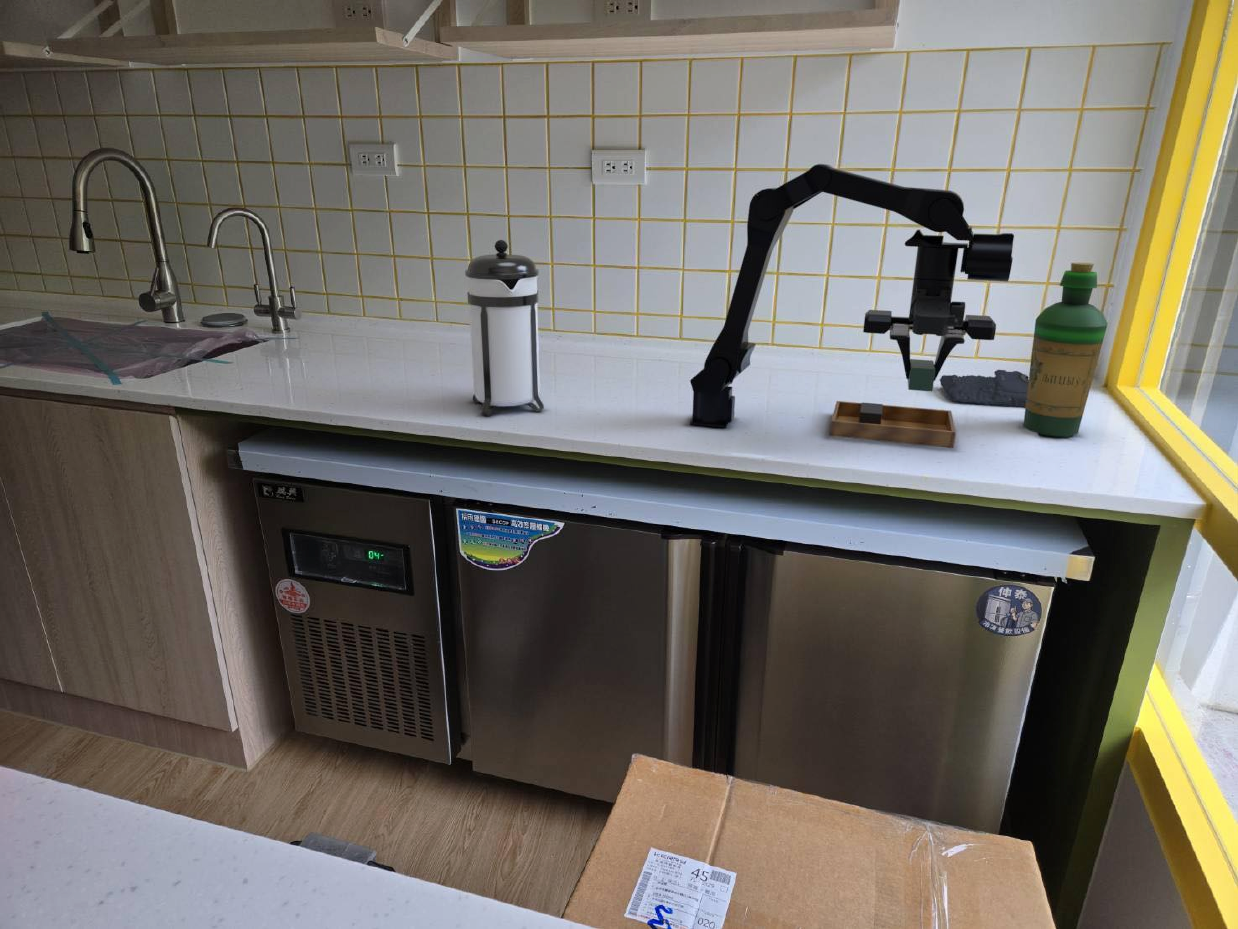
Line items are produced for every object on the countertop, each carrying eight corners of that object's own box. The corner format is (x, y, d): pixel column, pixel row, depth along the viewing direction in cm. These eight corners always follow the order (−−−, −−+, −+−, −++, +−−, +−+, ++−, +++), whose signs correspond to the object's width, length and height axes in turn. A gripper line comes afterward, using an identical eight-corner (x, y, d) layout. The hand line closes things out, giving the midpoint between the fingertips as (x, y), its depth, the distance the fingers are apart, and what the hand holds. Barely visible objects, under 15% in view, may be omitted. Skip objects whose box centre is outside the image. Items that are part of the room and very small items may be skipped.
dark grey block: (857, 432, 137) (859, 412, 136) (859, 421, 143) (861, 402, 142) (879, 434, 136) (882, 414, 135) (880, 423, 142) (882, 404, 141)
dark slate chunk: (933, 384, 170) (936, 361, 169) (1046, 389, 167) (1050, 366, 165) (947, 403, 156) (951, 379, 155) (1071, 410, 153) (1076, 385, 151)
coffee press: (566, 401, 156) (564, 238, 145) (515, 422, 143) (508, 244, 132) (494, 389, 164) (487, 234, 154) (440, 408, 151) (428, 240, 141)
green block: (908, 389, 126) (911, 367, 125) (907, 380, 132) (910, 358, 131) (932, 391, 125) (935, 369, 124) (930, 381, 131) (933, 360, 130)
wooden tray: (829, 438, 136) (831, 420, 135) (835, 416, 147) (836, 400, 146) (953, 450, 130) (955, 432, 129) (948, 427, 142) (951, 410, 141)
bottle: (1005, 430, 140) (1035, 263, 131) (1029, 418, 147) (1059, 258, 138) (1072, 444, 133) (1108, 268, 124) (1094, 431, 140) (1129, 263, 131)
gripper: (868, 281, 118) (856, 386, 124) (1008, 287, 113) (990, 397, 118) (869, 273, 128) (859, 370, 134) (998, 278, 123) (982, 379, 128)
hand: (920, 379), depth 128 cm, fingers closed on green block, 3 cm apart
